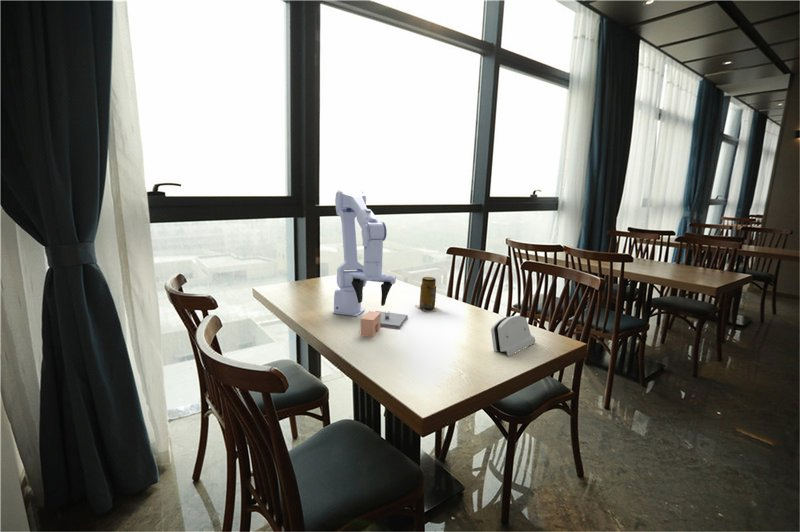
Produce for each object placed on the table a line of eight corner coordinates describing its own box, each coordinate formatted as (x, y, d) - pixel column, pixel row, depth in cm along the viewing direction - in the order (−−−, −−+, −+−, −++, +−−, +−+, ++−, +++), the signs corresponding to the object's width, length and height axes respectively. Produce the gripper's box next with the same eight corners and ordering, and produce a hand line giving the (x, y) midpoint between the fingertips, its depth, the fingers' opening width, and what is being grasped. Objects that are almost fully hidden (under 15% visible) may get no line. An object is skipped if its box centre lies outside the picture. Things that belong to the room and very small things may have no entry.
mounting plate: (364, 324, 129) (365, 321, 129) (375, 313, 140) (375, 310, 140) (399, 328, 126) (399, 325, 126) (407, 317, 137) (407, 314, 137)
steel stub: (384, 318, 132) (384, 312, 132) (385, 316, 134) (385, 310, 133) (388, 318, 132) (388, 312, 132) (389, 317, 134) (390, 311, 133)
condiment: (430, 304, 155) (432, 275, 153) (441, 310, 148) (443, 280, 145) (414, 306, 152) (416, 276, 149) (425, 312, 144) (427, 281, 142)
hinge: (508, 356, 108) (501, 321, 109) (494, 356, 112) (487, 323, 112) (536, 342, 120) (529, 311, 120) (522, 343, 123) (516, 312, 124)
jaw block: (360, 335, 119) (360, 318, 118) (368, 326, 126) (369, 311, 125) (372, 337, 118) (373, 320, 117) (380, 328, 126) (380, 312, 124)
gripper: (346, 261, 116) (345, 304, 118) (392, 265, 112) (390, 309, 115) (354, 257, 122) (353, 298, 125) (398, 261, 119) (396, 303, 122)
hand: (371, 303), depth 120 cm, fingers open, 7 cm apart
